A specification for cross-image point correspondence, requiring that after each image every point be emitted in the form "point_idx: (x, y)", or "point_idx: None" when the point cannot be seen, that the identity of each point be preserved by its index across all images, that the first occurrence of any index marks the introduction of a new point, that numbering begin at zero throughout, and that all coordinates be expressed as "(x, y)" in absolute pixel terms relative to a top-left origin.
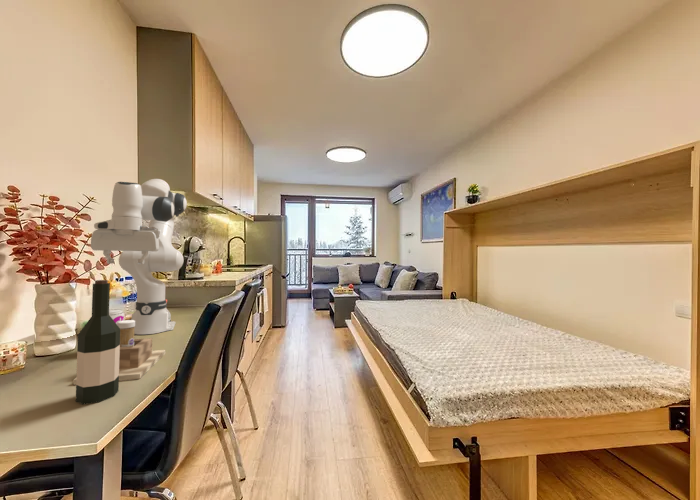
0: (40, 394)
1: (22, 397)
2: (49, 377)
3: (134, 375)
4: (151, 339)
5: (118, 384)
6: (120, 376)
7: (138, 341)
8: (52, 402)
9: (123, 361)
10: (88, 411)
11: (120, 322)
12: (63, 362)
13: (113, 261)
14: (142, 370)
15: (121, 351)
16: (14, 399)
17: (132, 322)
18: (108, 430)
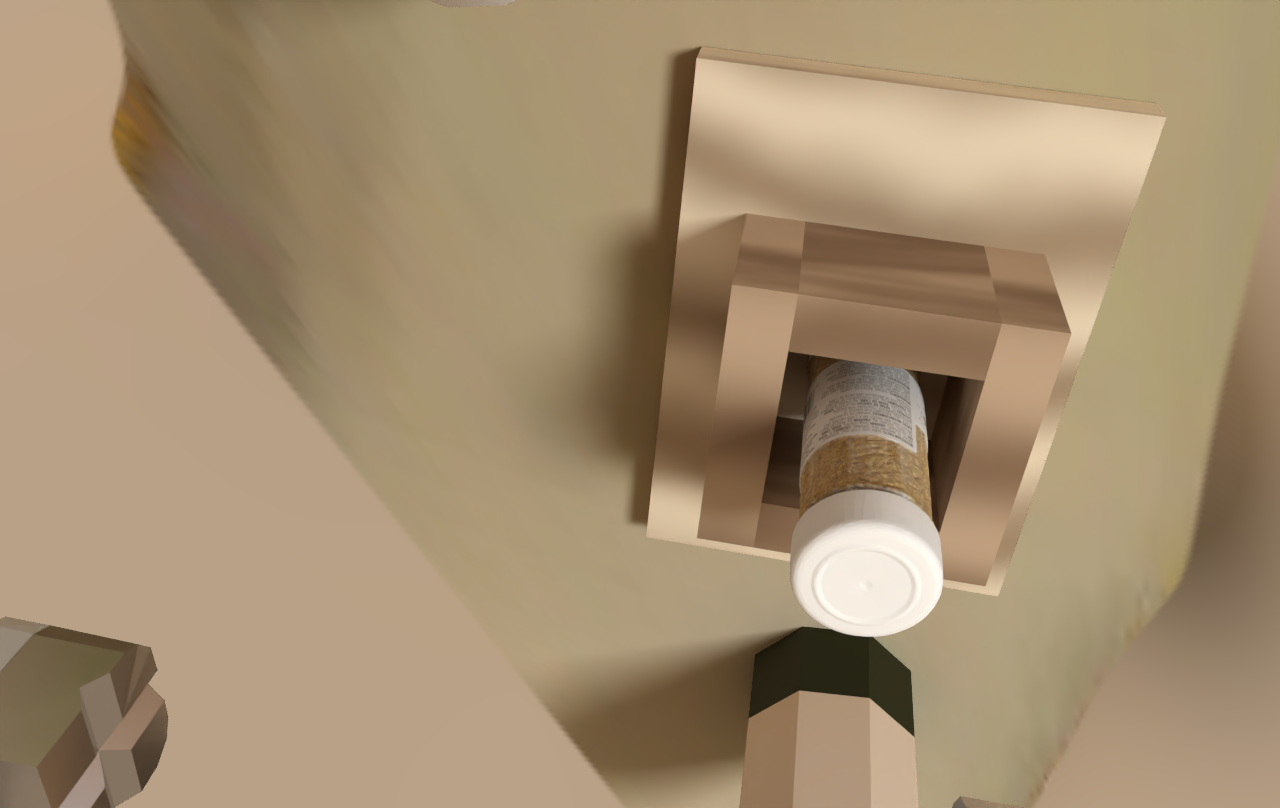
0: (552, 569)
1: (491, 570)
2: (450, 350)
3: (967, 585)
4: (1063, 346)
5: (911, 699)
6: None
7: (950, 370)
8: (656, 667)
9: None
10: None
11: (821, 614)
12: (346, 43)
13: (106, 704)
14: (1007, 550)
15: None
16: (471, 578)
17: (926, 615)
18: None
